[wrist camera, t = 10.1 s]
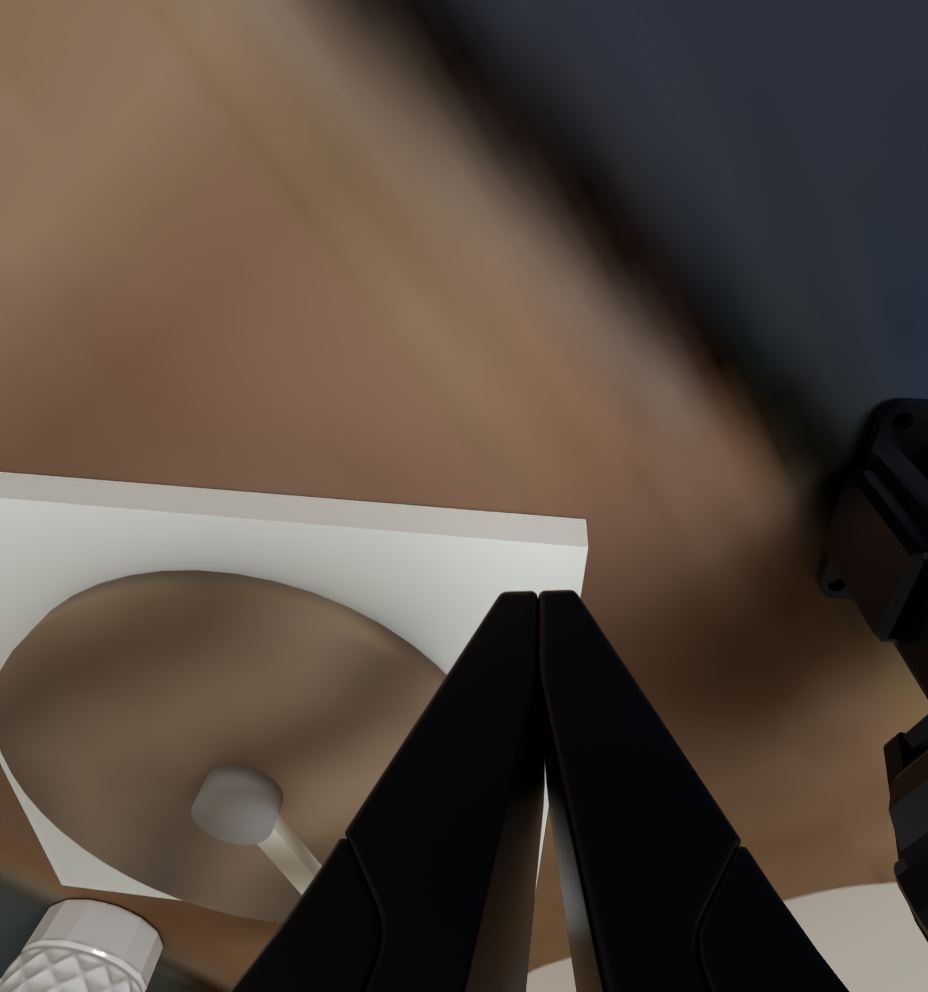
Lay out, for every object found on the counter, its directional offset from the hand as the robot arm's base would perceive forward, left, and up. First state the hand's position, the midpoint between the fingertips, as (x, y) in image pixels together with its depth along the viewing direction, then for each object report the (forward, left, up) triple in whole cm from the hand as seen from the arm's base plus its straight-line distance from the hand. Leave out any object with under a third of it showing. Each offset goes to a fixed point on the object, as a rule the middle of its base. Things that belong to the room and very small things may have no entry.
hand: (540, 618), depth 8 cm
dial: (+10, +18, -11) cm, 23 cm away
